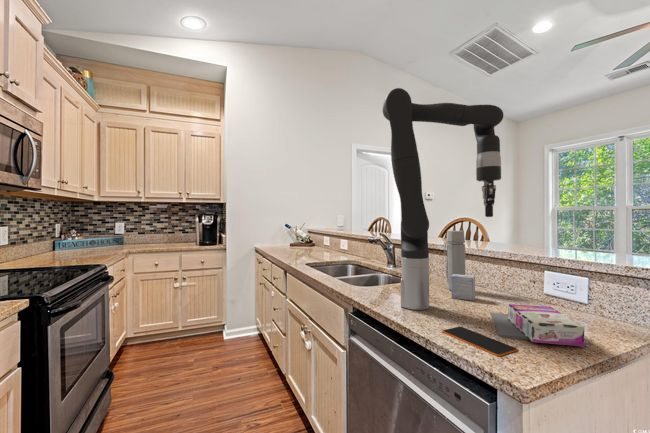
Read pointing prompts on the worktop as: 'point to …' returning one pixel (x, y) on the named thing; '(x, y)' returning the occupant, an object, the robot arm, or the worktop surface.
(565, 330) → the candy bar box
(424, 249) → the robot arm
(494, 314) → the rubber mat
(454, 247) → the water bottle
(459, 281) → the medicine box
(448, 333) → the smartphone
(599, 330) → the worktop surface
